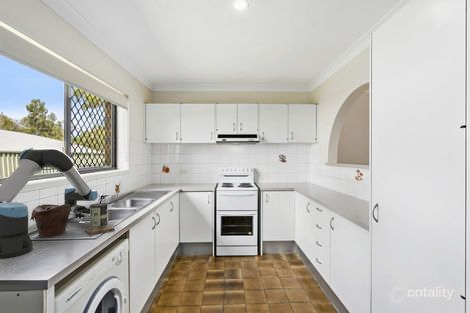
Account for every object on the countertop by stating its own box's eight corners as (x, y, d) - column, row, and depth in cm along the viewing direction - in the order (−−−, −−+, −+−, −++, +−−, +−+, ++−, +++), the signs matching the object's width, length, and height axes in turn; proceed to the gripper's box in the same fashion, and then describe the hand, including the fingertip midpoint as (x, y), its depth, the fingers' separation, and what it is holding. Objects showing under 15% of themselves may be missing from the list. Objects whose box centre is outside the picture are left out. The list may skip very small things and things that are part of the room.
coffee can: (106, 223, 172) (106, 202, 172) (108, 226, 163) (108, 205, 163) (89, 225, 166) (89, 204, 166) (90, 229, 158) (90, 206, 158)
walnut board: (88, 235, 146) (88, 232, 146) (85, 230, 154) (85, 228, 154) (114, 230, 155) (114, 228, 155) (109, 226, 163) (109, 224, 163)
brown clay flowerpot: (36, 231, 153) (36, 201, 153) (74, 227, 161) (74, 199, 160) (25, 241, 137) (24, 208, 136) (68, 236, 144) (68, 205, 144)
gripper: (95, 212, 187) (115, 215, 177) (59, 220, 164) (79, 224, 155) (95, 202, 187) (115, 205, 177) (59, 208, 164) (79, 212, 155)
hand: (98, 214), depth 166 cm, fingers open, 13 cm apart
